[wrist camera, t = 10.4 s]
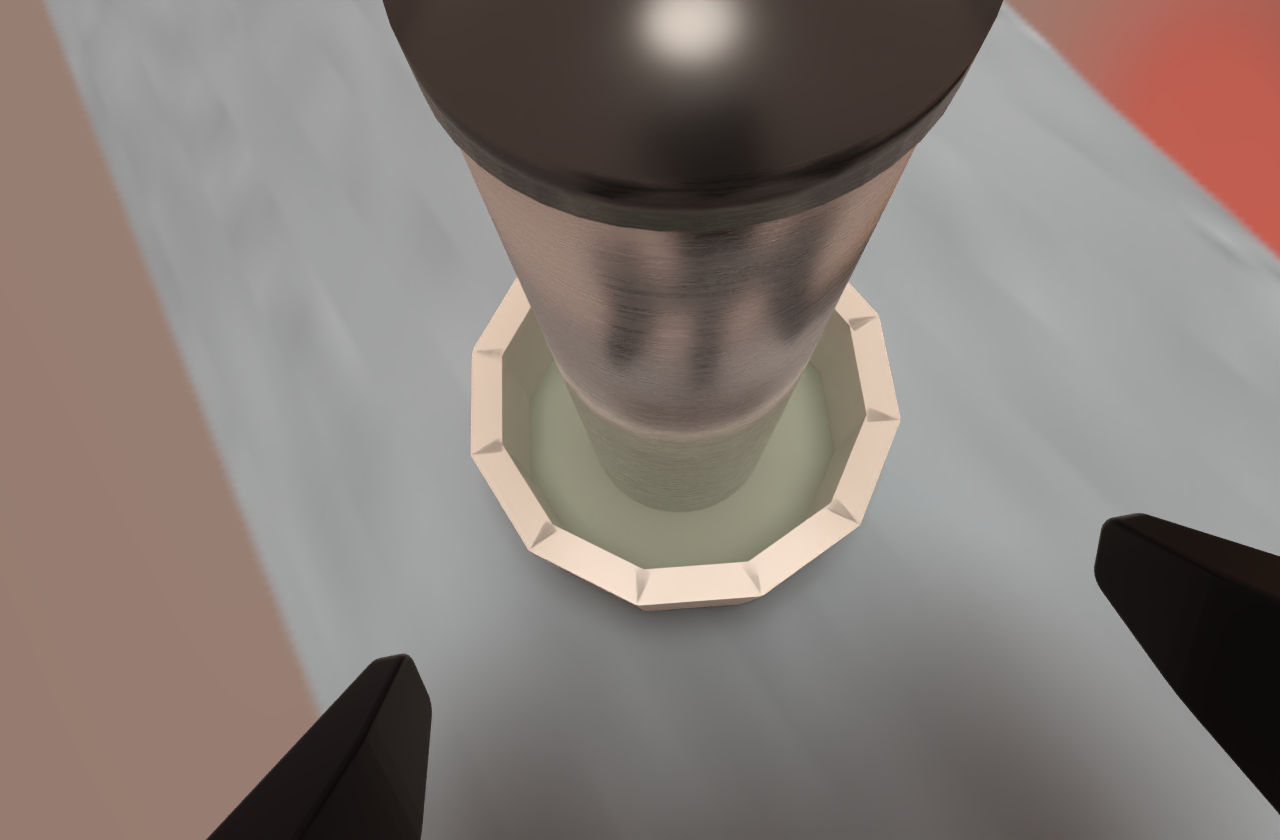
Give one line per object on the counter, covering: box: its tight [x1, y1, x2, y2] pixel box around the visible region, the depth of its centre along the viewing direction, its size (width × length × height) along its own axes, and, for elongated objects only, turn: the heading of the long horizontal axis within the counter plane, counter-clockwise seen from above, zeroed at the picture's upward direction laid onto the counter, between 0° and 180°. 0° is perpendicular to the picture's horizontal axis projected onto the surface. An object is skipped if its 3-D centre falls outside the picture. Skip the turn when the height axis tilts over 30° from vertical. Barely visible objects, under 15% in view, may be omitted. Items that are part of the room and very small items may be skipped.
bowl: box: [471, 277, 901, 611], centre depth 16 cm, size 9×9×4 cm
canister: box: [383, 0, 1003, 512], centre depth 11 cm, size 5×5×13 cm
